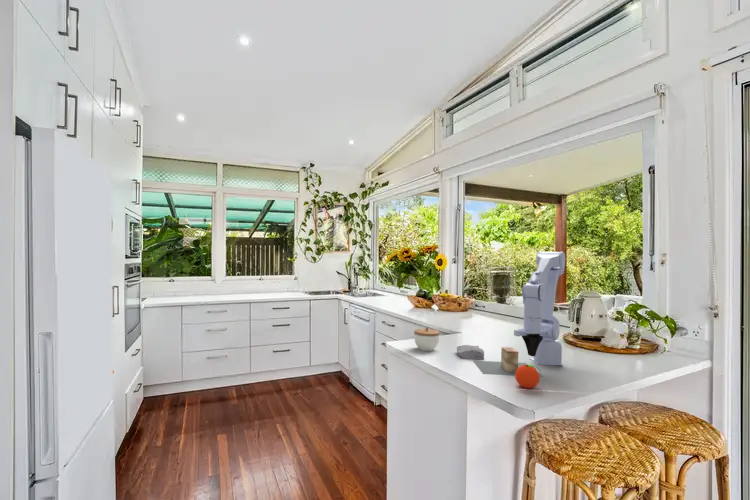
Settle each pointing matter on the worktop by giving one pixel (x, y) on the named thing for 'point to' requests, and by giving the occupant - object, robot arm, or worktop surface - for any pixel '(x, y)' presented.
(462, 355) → the stone block
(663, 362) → the worktop surface
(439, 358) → the worktop surface
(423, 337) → the lidded jar
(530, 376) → the clementine
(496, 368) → the slate mat
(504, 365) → the maple block
